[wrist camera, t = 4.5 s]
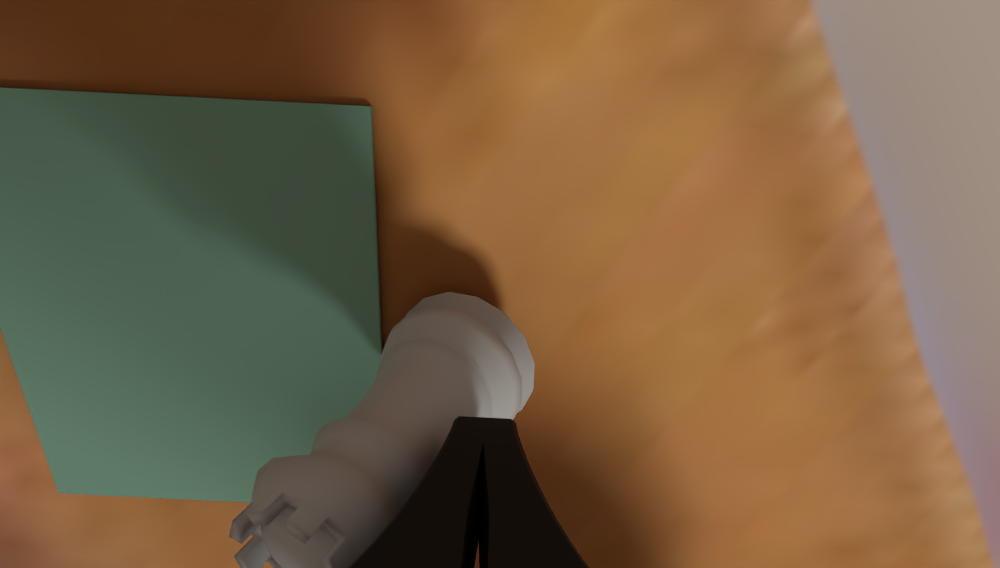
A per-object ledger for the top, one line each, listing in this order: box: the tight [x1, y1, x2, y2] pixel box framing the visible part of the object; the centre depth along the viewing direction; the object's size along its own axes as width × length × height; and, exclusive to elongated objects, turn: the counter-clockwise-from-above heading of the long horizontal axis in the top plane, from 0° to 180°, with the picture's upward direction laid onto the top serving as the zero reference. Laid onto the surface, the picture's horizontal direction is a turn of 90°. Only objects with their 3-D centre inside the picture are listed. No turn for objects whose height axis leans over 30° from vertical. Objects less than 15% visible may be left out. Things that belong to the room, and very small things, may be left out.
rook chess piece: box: [229, 292, 535, 568], centre depth 13 cm, size 4×4×8 cm
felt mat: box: [0, 87, 382, 502], centre depth 17 cm, size 14×12×1 cm
